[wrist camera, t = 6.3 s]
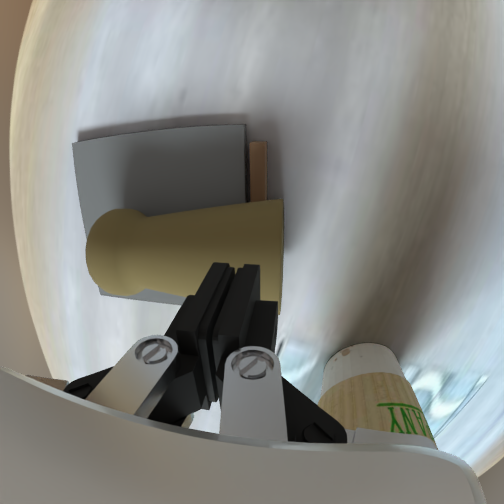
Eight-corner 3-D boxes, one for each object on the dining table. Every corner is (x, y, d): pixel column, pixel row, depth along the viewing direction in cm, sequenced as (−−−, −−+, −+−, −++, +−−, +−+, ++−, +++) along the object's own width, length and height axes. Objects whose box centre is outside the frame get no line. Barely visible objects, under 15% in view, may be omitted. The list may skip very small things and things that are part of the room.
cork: (284, 248, 20) (132, 244, 22) (283, 174, 15) (100, 182, 17) (279, 333, 16) (106, 317, 18) (278, 271, 12) (55, 261, 13)
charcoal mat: (245, 124, 16) (243, 124, 16) (249, 306, 21) (248, 311, 21) (77, 142, 18) (72, 143, 17) (104, 291, 23) (100, 295, 22)
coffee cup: (404, 399, 23) (427, 543, 10) (302, 408, 25) (288, 560, 12) (427, 317, 20) (495, 500, 6) (298, 328, 21) (280, 540, 8)
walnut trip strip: (266, 141, 16) (264, 143, 15) (266, 295, 21) (264, 305, 19) (252, 141, 17) (249, 142, 15) (254, 294, 21) (252, 304, 20)
